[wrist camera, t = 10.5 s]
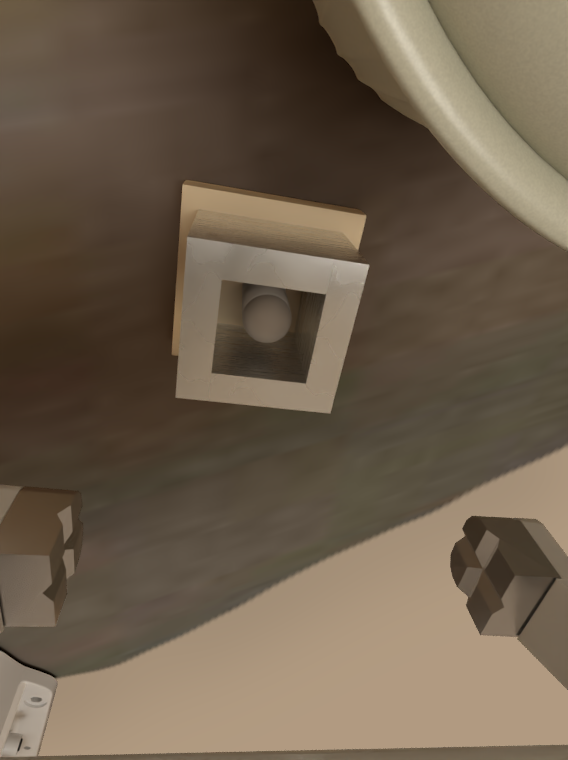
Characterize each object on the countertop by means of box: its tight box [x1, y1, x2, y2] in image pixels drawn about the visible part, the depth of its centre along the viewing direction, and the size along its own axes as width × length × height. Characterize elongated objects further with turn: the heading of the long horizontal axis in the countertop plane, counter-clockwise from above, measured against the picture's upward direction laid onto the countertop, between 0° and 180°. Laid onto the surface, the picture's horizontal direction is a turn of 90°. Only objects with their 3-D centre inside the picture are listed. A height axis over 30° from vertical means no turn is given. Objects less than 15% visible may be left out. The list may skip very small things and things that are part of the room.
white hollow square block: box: [175, 209, 369, 413], centre depth 20 cm, size 6×6×5 cm
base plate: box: [172, 180, 367, 356], centre depth 21 cm, size 8×8×6 cm
